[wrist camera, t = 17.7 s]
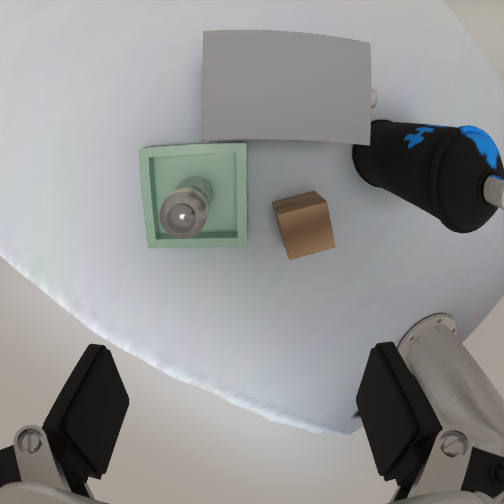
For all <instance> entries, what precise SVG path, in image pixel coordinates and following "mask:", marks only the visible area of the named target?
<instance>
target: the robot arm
mask: <svg viewBox="0 0 504 504" xmlns="http://www.w3.org/2000/svg"><path fill="white" fill-rule="evenodd" d="M456 334H457V325H456V322H455V321H454V320H453V319H452V318H451V317H450V316H449V315H447V314H436V315H433V316H430V317H428V318H426V319H424V320H422V321H421V322H419V323H418V324H417V325H415V326H414V327H413V328H412V329H411V330H410V331H409V332H408V333H407V334H406V336H405V337H404V338H403V340H402V341H401V343H400V345H399V347H398V349H397V348H396V346H395V344H394V343H393V342H384V343H378V344H376V346H375V348H372V349H371V351H370V355H369V358H368V362H367V365H366V368H365V372H364V375H363V378H362V381H361V384H360V387H359V390H358V393H357V397H356V403H357V407H358V410H359V413H360V416H361V419H362V422H363V425H364V428H365V431H366V435H367V438H368V441H369V444H370V447H371V450H372V453H373V457H374V460H375V464H376V467H377V470H378V473H379V475H380V476H384V480H385V481H389V480H392V479H396V482H397V485H398V487H397V489H396V491H395V493H394V495H393V497H392V499H391V500H390V502H389V503H387V504H504V399H503V398H502V396H501V395H500V394H499V393H498V391H497V390H496V389H495V387H494V385H493V384H492V383H491V381H490V380H489V378H488V377H487V376H486V374H485V373H484V372H483V370H482V369H481V368H480V366H479V365H478V364H477V363H476V361H475V360H474V359H473V357H472V356H471V355H470V353H469V352H468V351H467V350H466V348H465V347H464V346H463V345H462V343H461V342H460V341H459V339H458V338H457V337H456ZM426 396H427V397H426ZM427 398H428V399H427ZM431 405H432V406H431ZM128 406H129V397H128V394H127V392H126V390H125V387H124V385H123V382H122V380H121V377H120V375H119V372H118V370H117V367H116V365H115V362H114V359H113V357H112V354H111V352H110V350H108V349H107V348H106V346H104V345H97V344H90V345H89V346H88V347H87V349H86V350H85V352H84V353H83V355H82V357H81V358H80V360H79V362H78V363H77V365H76V366H75V368H74V370H73V371H72V373H71V375H70V377H69V378H68V380H67V382H66V384H65V385H64V387H63V389H62V390H61V392H60V394H59V396H58V397H57V399H56V401H55V403H54V405H53V407H52V409H51V410H50V412H49V414H48V416H47V418H46V420H45V422H44V423H43V424H44V425H43V427H42V428H41V427H39V426H36V425H27V426H25V427H23V428H21V429H20V430H19V431H18V432H17V434H16V435H15V437H14V445H12V446H10V447H7V448H5V449H2V450H0V504H108V503H105V502H101V501H97V500H95V498H94V496H93V495H92V492H91V490H90V488H89V486H88V484H87V480H88V477H92V478H96V479H99V480H100V479H101V476H102V474H105V473H106V471H107V468H108V465H109V462H110V459H111V456H112V453H113V450H114V447H115V443H116V441H117V437H118V435H119V432H120V429H121V426H122V423H123V420H124V417H125V414H126V412H127V409H128ZM432 407H433V408H432ZM433 409H434V410H433ZM434 411H435V412H434ZM435 413H436V414H435ZM436 415H437V416H436ZM437 417H438V418H437ZM438 419H439V420H440V422H441V423H440V422H439V420H438ZM441 424H442V425H441ZM442 426H443V427H442ZM443 428H444V429H443ZM472 443H473V446H472Z"/></svg>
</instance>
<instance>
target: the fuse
mask: <svg viewBox="0 0 504 504" xmlns="http://www.w3.org/2000/svg"><path fill="white" fill-rule="evenodd" d="M212 198H213V190H212V187H211V185H210V184H209V183H208V181H206V180H205V179H203V178H201V177H197V176H192V177H188V178H186V179H184V180H183V181H182V182H181V183H180V184H179V185H178V186H177V188H176V189H175V190H174V191H173V192H171V193H170V194H169V195H168V196H167V198H166V199H165V200H164V202H163V204H162V206H161V208H160V213H159V218H160V223H161V225H162V227H163V229H164V230H165V231H166V232H167V233H168V234H169V235H171V236H173V237H175V238H179V239H188V238H192V237H194V236H196V235H197V234H198V233H199V232H200V231H201V230H202V229H203V227H204V225H205V223H206V221H207V218H208V213H209V208H210V205H211V201H212Z"/></svg>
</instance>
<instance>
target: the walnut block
mask: <svg viewBox="0 0 504 504" xmlns="http://www.w3.org/2000/svg"><path fill="white" fill-rule="evenodd" d="M272 203H273V207H274V210H275V214H276V218H277V222H278V225H279V229H280V233H281V237H282V241H283V244H284V247H285V249H286V252H287V255H288V258H289V260H291V259H295V258H298V257H302V256H306V255H309V254H313V253H316V252H320V251H323V250H327V249H330V248H334V247H335V243H334V237H333V232H332V226H331V221H330V216H329V211H328V206H327V202H326V201H325V200H324V199H323V198H322V197H321V196H320V195H319V194H317V193H316V192H315V191H313V192H309V193H305V194H301V195H298V196H294V197H290V198H286V199H283V200H279V201H275V202H272Z"/></svg>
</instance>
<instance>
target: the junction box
mask: <svg viewBox="0 0 504 504" xmlns="http://www.w3.org/2000/svg"><path fill="white" fill-rule="evenodd" d="M376 103H377V93H376V91H375V90H374V89H371V53H370V43H367V42H362V41H357V40H352V39H346V38H340V37H333V36H327V35H319V34H310V33H301V32H288V31H271V30H218V31H203V140H233V139H273V140H304V141H322V142H337V143H349V144H359V145H369V146H370V130H371V108H374V107H375V106H376Z"/></svg>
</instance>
